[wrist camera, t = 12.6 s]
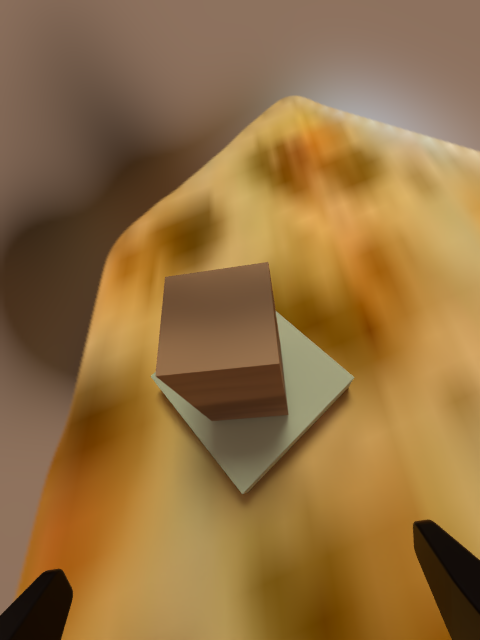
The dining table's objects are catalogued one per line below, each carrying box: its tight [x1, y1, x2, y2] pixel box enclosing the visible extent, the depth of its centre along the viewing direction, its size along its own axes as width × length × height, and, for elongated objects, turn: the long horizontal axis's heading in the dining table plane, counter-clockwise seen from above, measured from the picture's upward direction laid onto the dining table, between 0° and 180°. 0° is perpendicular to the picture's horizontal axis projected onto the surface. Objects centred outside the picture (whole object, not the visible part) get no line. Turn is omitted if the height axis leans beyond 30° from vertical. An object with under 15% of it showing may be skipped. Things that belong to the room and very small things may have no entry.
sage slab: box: [151, 312, 354, 494], centre depth 23 cm, size 10×10×3 cm
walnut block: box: [155, 262, 289, 421], centre depth 17 cm, size 5×5×9 cm
